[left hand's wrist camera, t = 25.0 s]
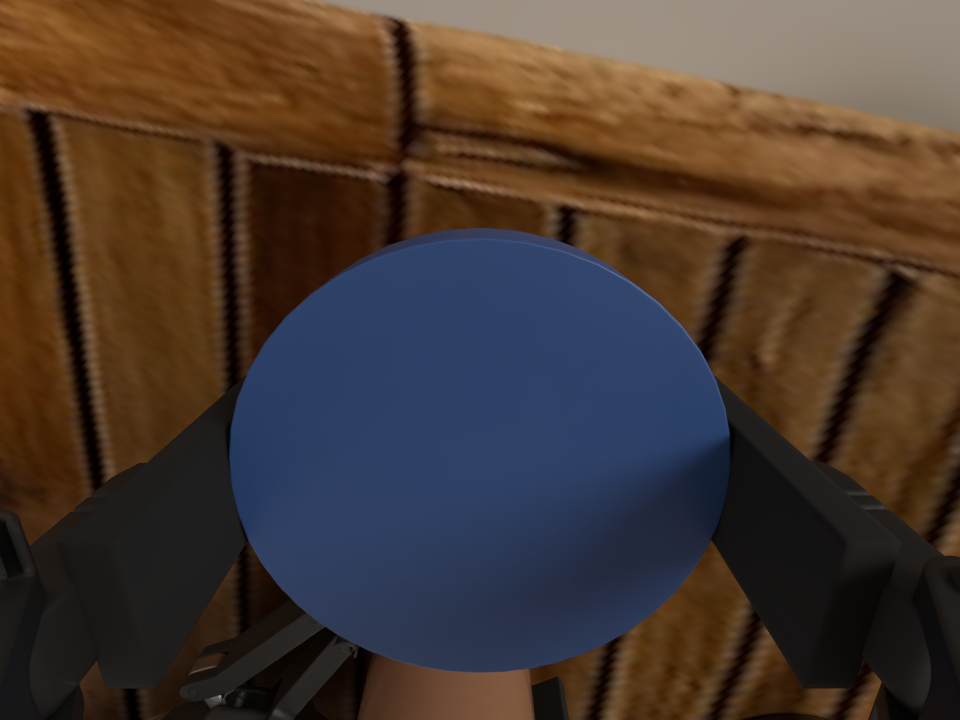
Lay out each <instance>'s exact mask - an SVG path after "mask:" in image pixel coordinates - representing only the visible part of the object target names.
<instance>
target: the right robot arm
mask: <svg viewBox="0 0 960 720" xmlns="http://www.w3.org/2000/svg"><path fill="white" fill-rule="evenodd" d="M321 629H322V630H321ZM320 630H321V631H320ZM318 631H320V632H319V633H318V635H317V636H316V637H315V638H314V639H313V641H312V642H311V643H310V644H309V645H308V646H307V648H306V649H305V650H304V651H303V652H302V654H301V655H300V656H299V657H298V658H297V660H296V661H295V662H294V663H293V662H291V663H290V664H289V665H288V666H287V667H286V668H285V670H284V671H283V672H282V673H281V674H280V676H279V677H278V678H277V679H276V680H275V682H274V683H273V684H271V685H270V686H269V687H268V688H265V687H256V686H247V685H241V684H243V683H244V682H246V681H247V680H249V679H250V678H252V677H253V676H254V675H256V674H257V673H259V672H260V671H262V670H263V669H265V668H266V667H268V666H269V665H270V664H272V663H273V662H275V661H276V660H278V659H279V658H281V657H282V656H283V655H285V654H286V653H288V652H289V651H291V650H292V649H294V648H295V647H297V646H298V645H299V644H301V643H302V642H304V641H305V640H307V639H308V638H310V637H311V636H312V635H314V634H315V633H317V632H318ZM358 649H359V646H358V645H356V644H354V643H352V642H350V641H348V640H346V639H344V638H342V637H341V636H339V635H338V634H336V633H335V632H333V631H331V630H330V629H328V628H327V627H325V626H324V625H322V624H321V623H319V622H318V621H316V620H315V619H314V618H313V617H312V616H310V615H309V614H308V613H307V612H305V611H304V610H303V609H302V608H300V607H299V606H298V605H297V604H296V603H295V602H294V601H293V600H292V599H291V598H290V599H289V600H288V601H286V602H285V603H283V604H282V605H281V606H279V607H278V608H276V609H275V610H274V611H272V612H271V613H270V614H268V615H267V616H265V617H264V618H263V619H261V620H260V621H258V622H257V623H256V624H254V625H253V626H251V627H250V628H249V629H247V630H246V631H245V632H243V633H242V634H240V635H239V636H238V637H236V638H234V639H231V640H227V641H224V642H220V643H217V644H213V645H210V646H207V647H205V648H204V650H203V651H202V653H201V655H200V656H199V658H198V660H197V662H196V663H195V665H194V667H193V668H192V670H191V672H190V674H189V675H188V677H187V679H186V681H185V682H184V684H183V686H182V687H181V689H180V695H181V697H183V698H184V699H185V700H187V701H189V702H187V703H184V704H182V705H180V706H178V707H176V708H174V709H173V710H170V711H167V712H164V713H162V714H159V715H157V716H154V717H152V718H150V719H147V720H328V719H327V718H325V717H324V716H323V715H321V714H320V713H318V712H317V711H316V709H315V707H314V704H313V702H312V701H311V698H312V697H313V696H314V695H315V694H316V693H317V691H318V690H319V689H320V688H321V687H322V686H323V685H324V684H325V682H326V681H327V680H328V679H329V678H330V677H331V676H332V675H333V673H334V672H335V671H336V670H337V669H338V668H339V667H340V665H341V664H342V663H343V662H344V661H345V660H346V659H347V658H348V656H349V655H351V653H352V652H353V651H355V653H354V658H356V656H357V653H358ZM371 653H372V654H373V655H375V654H377V653H374V652H372V651H371ZM532 693H533V703H534V713H535V720H569V718H568V712H567V705H566V699H565V693H564V687H563V684H562V682H561V681H560V679H559V677H555V678H552V679H549V680H547V681H544V682H541V683H539V684H536V685H533V686H532Z"/></svg>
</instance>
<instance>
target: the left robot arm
mask: <svg viewBox="0 0 960 720" xmlns="http://www.w3.org/2000/svg"><path fill="white" fill-rule="evenodd" d="M713 376H714V375H713ZM245 378H246V376H244V377H243V378H242V379H241V380H240V381H239V382H238V383H237V384H235V385H234V386H233V387H232V388H231V389H230V390H229V391H228V392H226V393H225V394H224V395H223V396H222V397H221V398H220V399H219V400H217V401H216V402H215V403H214V404H213V405H212V406H211V407H210V408H208V409H207V410H206V411H205V412H204V413H203V414H202V415H201V416H199V417H198V418H197V419H196V420H195V421H194V422H193V423H192V424H190V425H189V426H188V427H187V428H186V429H185V430H184V431H183V432H181V433H180V434H179V435H178V436H177V437H176V438H175V439H174V440H172V441H171V442H170V443H169V444H168V445H167V446H166V447H165V448H163V449H162V450H161V451H160V452H159V453H158V454H157V455H156V456H154V457H153V458H152V459H151V460H150V461H149V462H148V463H138V464H137V465H135V466H133V467H131V468H129V469H127V470H125V471H123V472H121V473H119V474H117V475H116V476H114V477H112V478H111V479H109V480H108V481H107V482H106V483H105V484H103V485H102V486H101V487H100V488H99V489H97V490H96V491H95V492H94V493H93V494H92V497H91V498H87V499H86V500H84V501H83V502H82V503H81V504H80V505H78V506H77V507H76V508H75V512H70V513H69V514H68V515H67V516H65V517H64V518H63V519H62V520H61V521H59V522H58V523H57V524H56V525H55V526H54V527H52V528H51V529H50V530H49V531H48V532H46V533H45V534H44V535H43V536H42V537H40V538H39V539H38V540H37V541H36V542H35V543H33V544H32V545H31V546H30V547H29V545H28V542H27V539H26V537H25V534H24V531H23V528H22V526H21V523H20V520H19V517H18V515H17V514H15V513H13V512H11V511H9V510H0V720H82V719H83V712H84V700H83V694H82V691H81V688H80V686H79V682H80V681H81V680H82V679H83V677H84V676H85V675H86V673H87V672H88V671H89V670H90V668H91V667H92V666H93V664H94V663H95V662H96V661H97V662H98V665H99V668H100V671H101V674H102V677H103V680H104V683H105V686H106V688H156V687H157V686H158V684H159V682H160V681H161V679H162V677H163V676H164V674H165V673H166V671H167V669H168V668H169V666H170V665H171V663H172V661H173V660H174V658H175V657H176V655H177V653H178V652H179V650H180V649H181V647H182V645H183V644H184V642H185V640H186V639H187V637H188V636H189V634H190V632H191V631H192V629H193V628H194V626H195V624H196V623H197V621H198V620H199V618H200V616H201V615H202V613H203V612H204V610H205V608H206V607H207V605H208V604H209V602H210V600H211V599H212V597H213V595H214V594H215V592H216V591H217V589H218V587H219V586H220V584H221V583H222V581H223V579H224V578H225V576H226V575H227V573H228V571H229V570H230V568H231V567H232V565H233V563H234V562H235V560H236V559H237V557H238V555H239V554H240V552H241V550H242V549H243V547H244V546H245V544H246V542H247V541H248V538H247V536H246V533H245V531H244V528H243V526H242V523H241V521H240V518H239V515H238V513H237V509H236V504H235V499H234V494H233V489H232V483H231V477H230V467H229V445H230V430H231V424H232V420H233V415H234V411H235V406H236V402H237V398H238V395H239V393H240V390H241V388H242V385H243V383H244V380H245ZM714 378H715V380H716V382H717V385H718V388H719V391H720V394H721V397H722V400H723V403H724V406H725V409H726V415H727V421H728V427H729V433H730V451H731V469H730V474H729V480H728V486H727V491H726V497H725V501H724V506H723V510H722V514H721V517H720V520H719V523H718V526H717V528H716V530H715V532H714V534H713V536H712V539H711V540H712V541H713V543H714V545H715V546H716V548H717V549H718V551H719V553H720V554H721V556H722V557H723V559H724V561H725V562H726V564H727V565H728V567H729V569H730V570H731V572H732V574H733V575H734V577H735V578H736V580H737V582H738V583H739V585H740V586H741V588H742V590H743V591H744V593H745V594H746V596H747V598H748V599H749V601H750V602H751V604H752V606H753V607H754V609H755V611H756V612H757V614H758V615H759V617H760V619H761V620H762V622H763V623H764V625H765V627H766V628H767V630H768V631H769V633H770V635H771V636H772V638H773V639H774V641H775V643H776V644H777V646H778V647H779V649H780V651H781V652H782V654H783V656H784V657H785V659H786V660H787V662H788V664H789V665H790V667H791V668H792V670H793V672H794V673H795V675H796V676H797V678H798V680H799V681H800V683H801V684H802V686H803V688H854V685H855V682H856V679H857V676H858V673H859V670H860V667H861V664H862V661H863V658H864V659H865V661H866V662H867V663H868V665H869V666H870V667H871V668H872V670H873V671H874V672H875V673H876V675H877V676H878V677H879V679H880V680H881V681H882V683H881V686H880V688H879V691H878V694H877V697H876V699H875V702H874V705H873V708H872V711H871V713H870V716H869V719H868V720H960V557H956V556H944V555H943V554H942V553H940V552H939V551H938V550H937V549H936V548H934V547H933V546H932V545H931V544H930V543H928V542H927V541H926V540H925V539H924V538H922V537H921V536H920V535H919V534H918V533H916V532H915V531H914V530H913V529H912V528H910V527H909V526H908V525H907V524H906V523H904V522H903V521H902V520H901V519H900V518H899V517H897V516H896V515H895V514H894V513H893V512H891V511H890V510H886V509H885V506H884V505H883V504H882V503H881V502H879V501H878V500H877V499H876V498H875V497H873V496H869V495H868V492H867V491H866V490H865V489H864V488H863V487H861V486H860V485H859V484H858V483H857V482H855V481H854V480H853V479H852V478H851V477H849V476H848V475H846V474H844V473H842V472H840V471H839V470H837V469H835V468H833V467H831V466H829V465H827V464H825V463H823V462H821V461H810V460H809V459H807V458H806V457H805V456H804V455H803V454H802V453H801V452H800V451H798V450H797V449H796V448H795V447H794V446H793V445H792V444H791V443H789V442H788V441H787V440H786V439H785V438H784V437H783V436H782V435H780V434H779V433H778V432H777V431H776V430H775V429H774V428H773V427H771V426H770V425H769V424H768V423H767V422H766V421H765V420H764V419H762V418H761V417H760V416H759V415H758V414H757V413H756V412H755V411H753V410H752V409H751V408H750V407H749V406H748V405H747V404H746V403H744V402H743V401H742V400H741V399H740V398H739V397H738V396H737V395H735V394H734V393H733V392H732V391H731V390H730V389H729V388H728V387H726V386H725V385H724V384H723V383H722V382H721V381H720V380H719V379H717V378H716V377H715V376H714ZM755 720H829V719H825V718H821V717H815V716H807V715H778V716H770V717H764V718H759V719H755Z"/></svg>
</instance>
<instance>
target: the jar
mask: <svg viewBox="0 0 960 720" xmlns="http://www.w3.org/2000/svg"><path fill="white" fill-rule="evenodd" d="M357 720H535V713H534V703H533V693H532V683H531V673H530V669H522V670H514V671H506V672H485V673H470V672H454V671H444V670H438V669H432V668H425V667H419V666H416V665H412V664H408V663H404V662H401V661H397V660H393V659H390V658H388V657H385V656H382V655H380V654H375V655H373V654H372V656H371V660H370V665H369V669H368V674H367V678H366V682H365V687H364V691H363V696H362V700H361V704H360V709H359V713H358V718H357Z"/></svg>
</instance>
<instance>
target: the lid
mask: <svg viewBox="0 0 960 720" xmlns="http://www.w3.org/2000/svg"><path fill="white" fill-rule="evenodd" d="M229 467H230V477H231V483H232V489H233V494H234V499H235V504H236V509H237V513H238V515H239V518H240V521H241V523H242V526H243V528H244V531H245V533H246V536H247V538H248V540H249V542H250V544H251V545H252V547H253V549H254V551H255V553H256V554H257V556H258V558H259V560H260V561H261V563H262V564H263V566H264V567H265V568H266V570H267V571H268V572H269V574H270V575H271V576H272V578H273V579H274V580H275V582H276V583H277V584H278V586H279V587H280V588H281V589H282V590H283V591H284V592H285V593H286V594H287V595H288V596H289V597H290V598H291V599H292V600H293V601H294V602H295V603H296V604H297V605H298V606H299V607H300V608H302V609H303V610H304V611H305V612H307V613H308V614H309V615H310V616H312V617H313V618H314V619H315V620H316V621H318V622H319V623H321V624H322V625H324V626H325V627H327V628H328V629H330V630H331V631H333V632H335V633H336V634H338V635H339V636H341V637H342V638H344V639H346V640H348V641H350V642H352V643H354V644H356V645H358V646H360V647H362V648H364V649H366V650H369V651H372V652H374V653H377V654H380V655H382V656H385V657H388V658H390V659H393V660H397V661H401V662H404V663H408V664H412V665H416V666H419V667H425V668H432V669H438V670H444V671H454V672H470V673H485V672H506V671H514V670H522V669H530V668H534V667H539V666H543V665H547V664H552V663H556V662H560V661H563V660H566V659H569V658H572V657H574V656H577V655H580V654H583V653H586V652H588V651H590V650H592V649H595V648H597V647H599V646H601V645H603V644H606V643H608V642H610V641H611V640H613V639H615V638H617V637H618V636H620V635H622V634H623V633H625V632H627V631H628V630H630V629H632V628H633V627H635V626H636V625H637V624H639V623H640V622H641V621H643V620H644V619H645V618H647V617H648V616H649V615H651V614H652V613H653V612H655V611H656V610H657V609H658V608H659V607H660V606H661V605H662V604H663V603H664V602H665V601H666V600H668V599H669V598H670V597H671V596H672V595H673V594H674V593H675V592H676V591H677V589H678V588H679V587H680V586H681V585H682V583H683V582H684V581H685V580H686V579H687V577H688V576H689V575H690V574H691V572H692V571H693V570H694V568H695V567H696V565H697V563H698V562H699V560H700V559H701V557H702V555H703V554H704V552H705V551H706V549H707V547H708V545H709V543H710V541H711V539H712V536H713V534H714V532H715V530H716V528H717V526H718V523H719V520H720V517H721V514H722V510H723V506H724V501H725V497H726V491H727V486H728V480H729V474H730V469H731V451H730V433H729V427H728V421H727V415H726V409H725V406H724V403H723V400H722V397H721V394H720V391H719V388H718V385H717V382H716V380H715V378H714V376H713V374H712V372H711V370H710V368H709V366H708V364H707V362H706V360H705V358H704V356H703V354H702V353H701V351H700V350H699V348H698V347H697V346H696V344H695V343H694V341H693V340H692V339H691V337H690V336H689V335H688V333H687V332H686V331H685V329H684V328H683V326H682V325H681V324H680V323H679V322H678V321H677V320H676V319H675V318H674V317H673V316H672V315H671V314H670V313H669V312H668V311H667V310H666V309H665V308H664V307H663V306H662V305H661V304H660V303H659V302H658V301H657V300H655V299H654V298H653V297H651V296H650V295H649V294H647V293H646V292H645V291H643V290H642V289H641V288H639V287H638V286H637V285H635V284H634V283H633V282H631V281H630V280H629V279H627V278H626V277H625V276H623V275H622V274H621V273H619V272H618V271H617V270H615V269H614V268H613V267H611V266H610V265H608V264H606V263H604V262H603V261H601V260H599V259H597V258H595V257H594V256H592V255H590V254H588V253H586V252H584V251H583V250H580V249H578V248H575V247H572V246H570V245H567V244H564V243H562V242H559V241H557V240H554V239H551V238H547V237H542V236H538V235H534V234H529V233H525V232H521V231H512V230H501V229H490V228H477V229H454V230H447V231H442V232H436V233H430V234H425V235H420V236H416V237H413V238H410V239H407V240H404V241H401V242H398V243H395V244H392V245H389V246H387V247H385V248H382V249H380V250H378V251H376V252H374V253H372V254H370V255H368V256H366V257H364V258H362V259H360V260H358V261H357V262H355V263H354V264H352V265H351V266H349V267H348V268H346V269H345V270H343V271H342V272H340V273H339V274H337V275H336V276H334V277H333V278H332V279H330V280H329V281H328V282H326V283H325V284H324V285H322V286H321V287H320V288H318V289H317V290H316V291H314V292H313V293H312V294H311V295H309V296H308V297H307V298H306V299H305V300H304V301H303V302H302V303H301V304H299V305H298V306H297V307H296V308H295V309H294V310H293V311H292V312H291V313H290V314H288V315H287V316H286V317H285V319H284V320H283V321H282V322H281V323H280V325H279V326H278V327H277V328H276V330H275V331H274V332H273V333H272V334H271V336H270V337H269V338H268V339H267V340H266V342H265V343H264V345H263V347H262V348H261V350H260V352H259V353H258V355H257V357H256V358H255V360H254V362H253V363H252V365H251V367H250V369H249V370H248V373H247V375H246V378H245V380H244V383H243V385H242V388H241V390H240V393H239V395H238V398H237V402H236V406H235V411H234V415H233V420H232V424H231V430H230V445H229Z"/></svg>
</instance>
